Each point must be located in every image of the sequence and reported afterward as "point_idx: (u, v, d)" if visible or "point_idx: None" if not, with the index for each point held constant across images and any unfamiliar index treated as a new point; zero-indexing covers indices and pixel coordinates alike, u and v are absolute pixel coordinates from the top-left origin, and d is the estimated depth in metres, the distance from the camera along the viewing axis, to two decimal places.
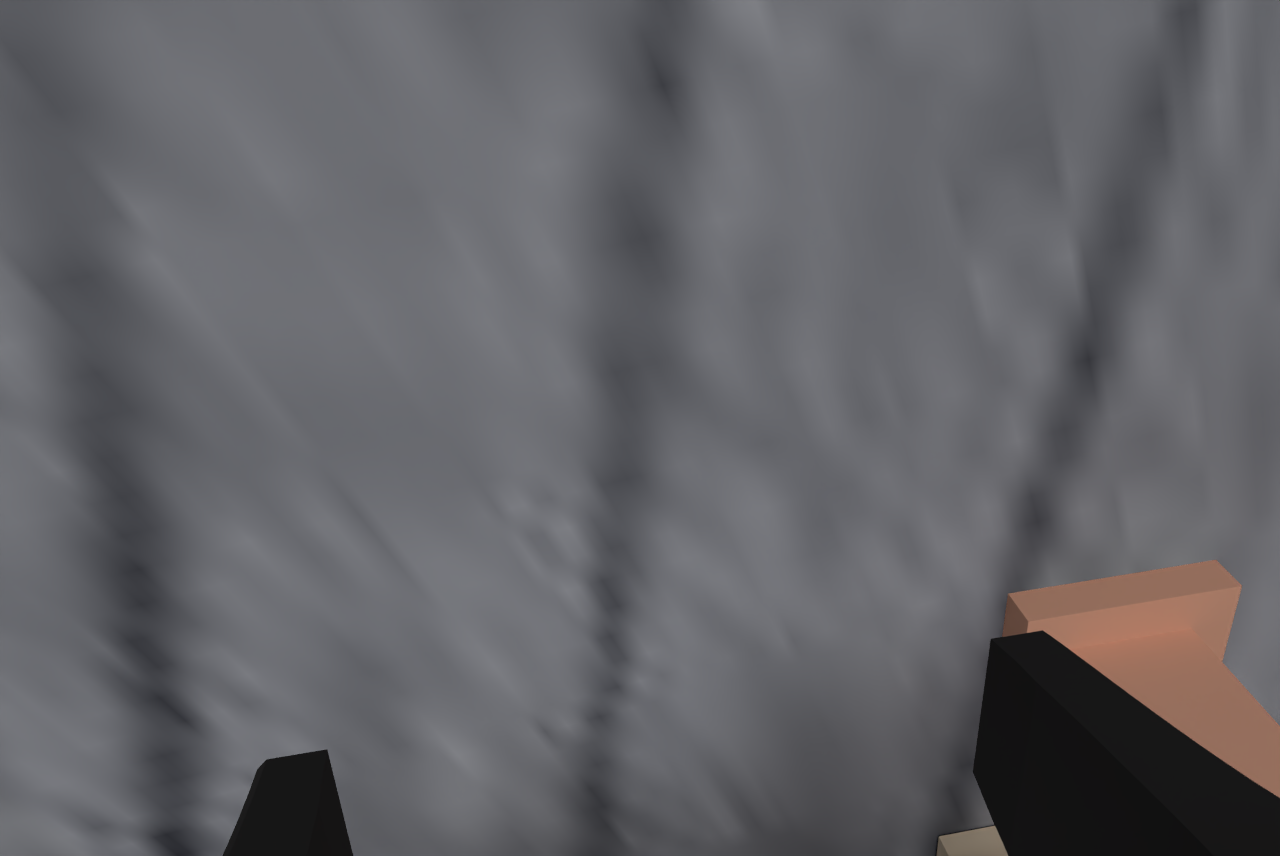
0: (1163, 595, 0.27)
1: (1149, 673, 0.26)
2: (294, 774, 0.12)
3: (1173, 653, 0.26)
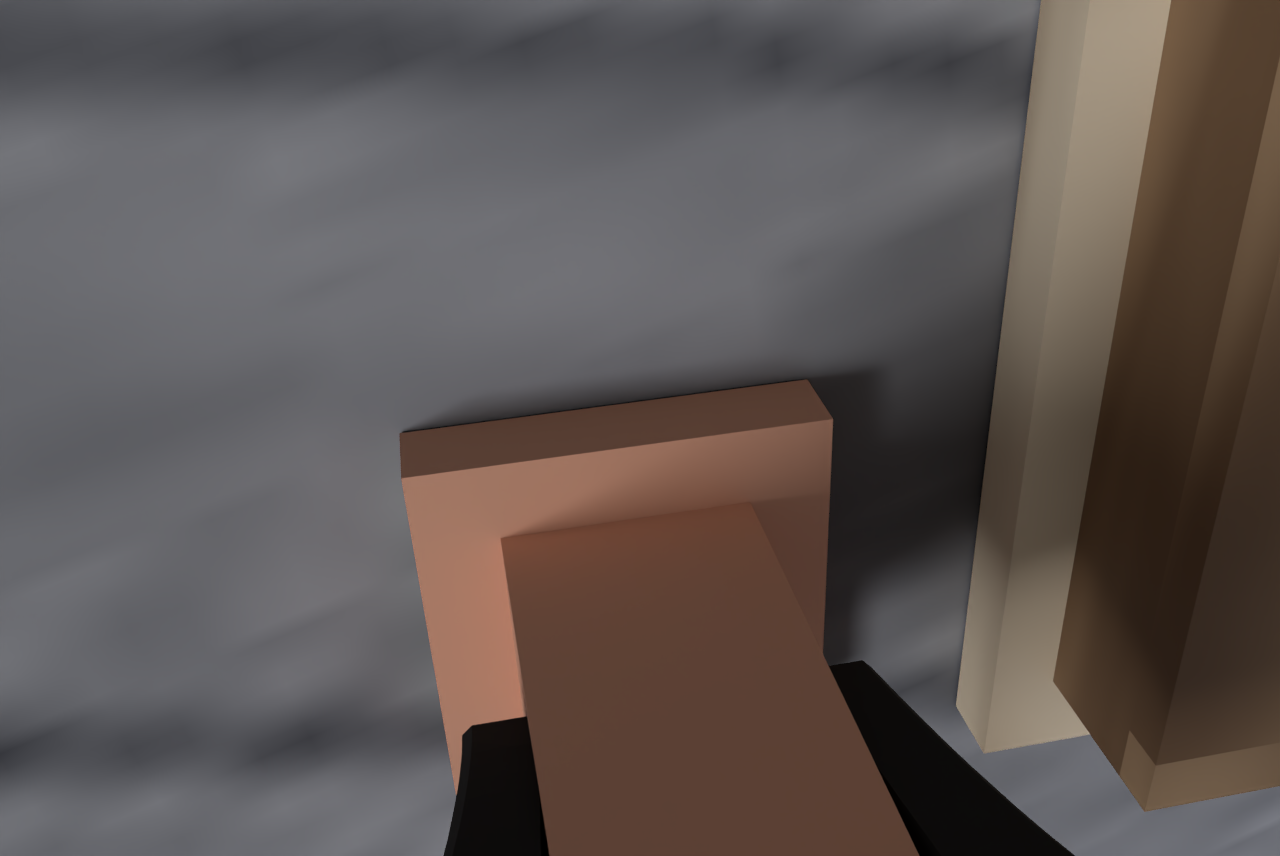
0: (424, 597, 0.15)
1: (523, 709, 0.14)
2: (504, 738, 0.12)
3: (512, 627, 0.14)
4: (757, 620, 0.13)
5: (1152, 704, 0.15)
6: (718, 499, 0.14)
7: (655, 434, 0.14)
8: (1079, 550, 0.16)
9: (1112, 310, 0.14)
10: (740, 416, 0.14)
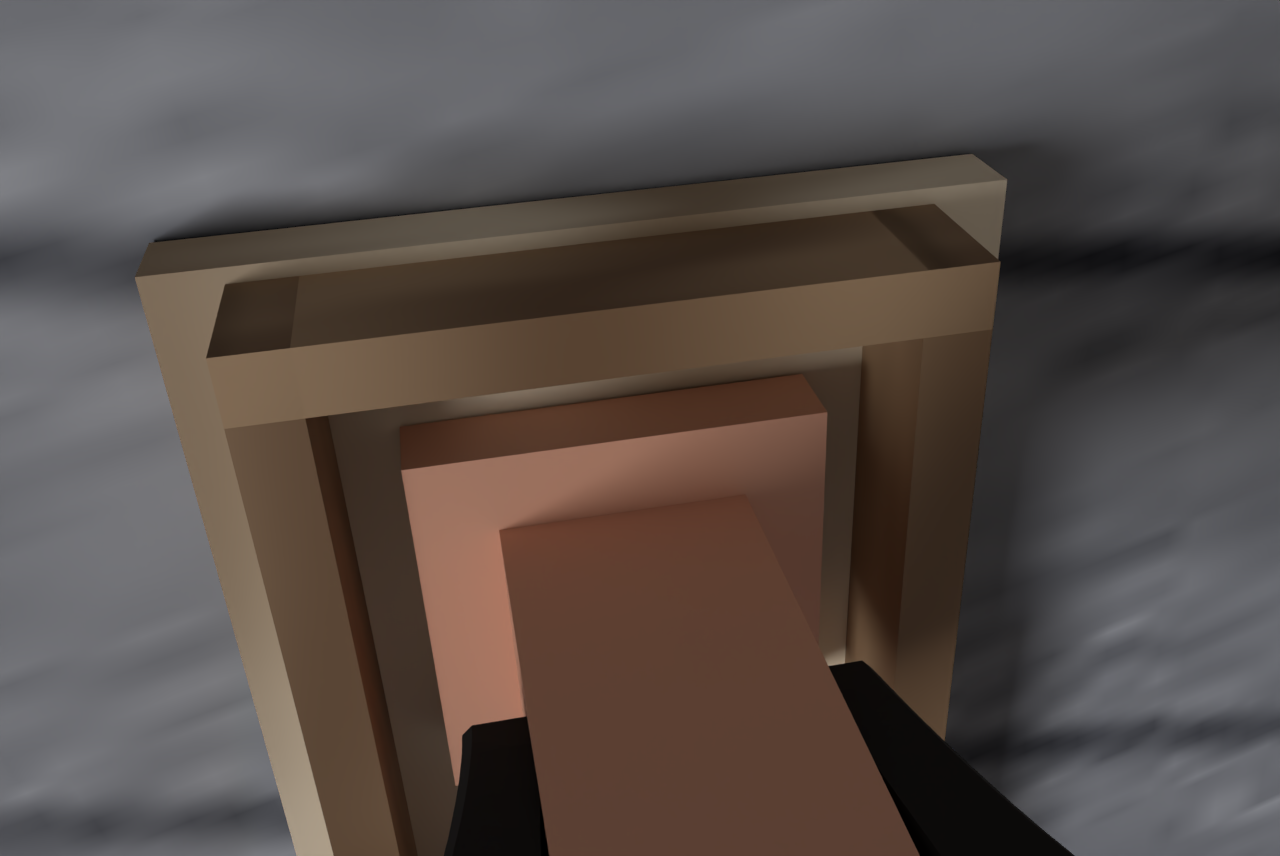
0: (423, 589, 0.15)
1: None
2: (505, 738, 0.12)
3: None
4: (751, 609, 0.13)
5: None
6: (713, 491, 0.15)
7: (651, 428, 0.14)
8: None
9: None
10: (735, 409, 0.15)
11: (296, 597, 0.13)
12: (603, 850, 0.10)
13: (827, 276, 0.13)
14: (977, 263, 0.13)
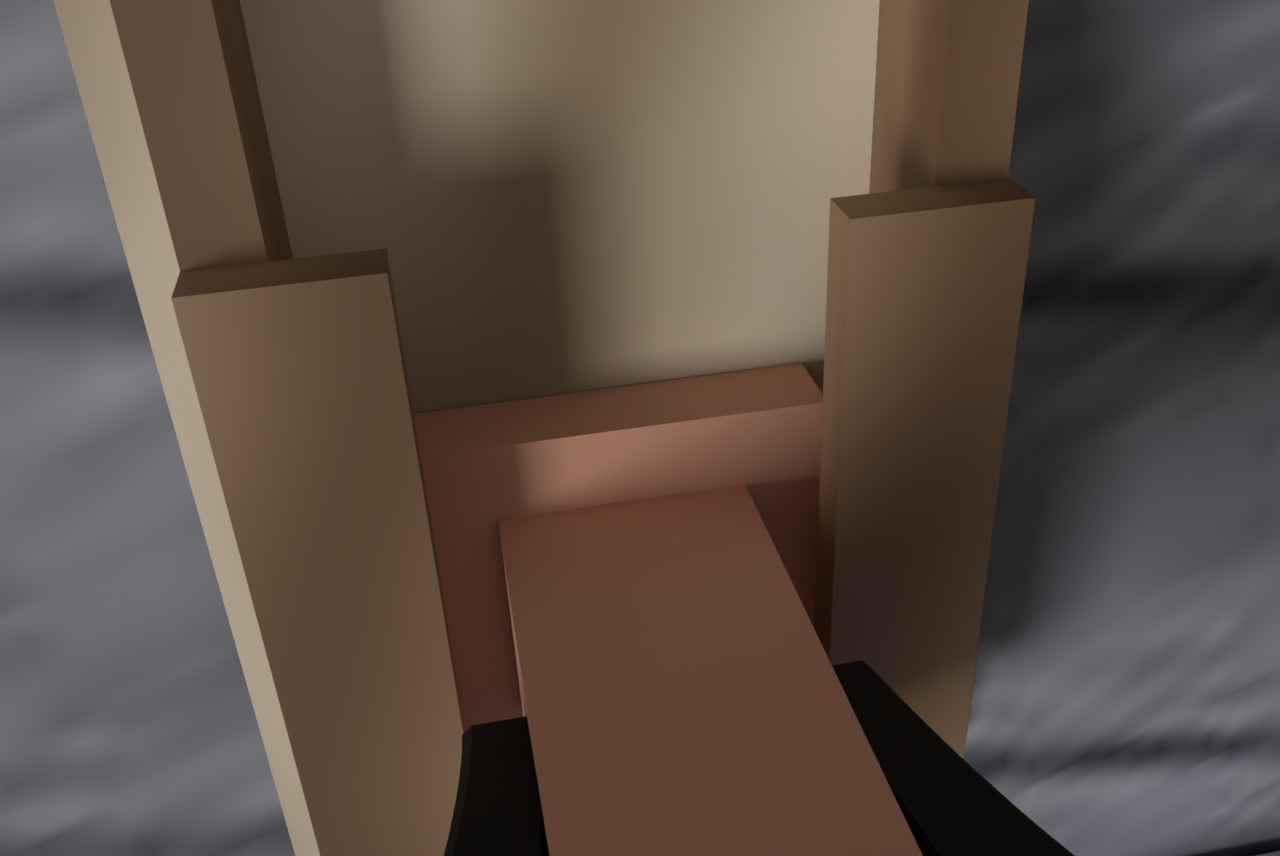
0: None
1: (520, 689, 0.14)
2: (505, 738, 0.12)
3: (509, 608, 0.14)
4: (751, 599, 0.13)
5: None
6: (714, 482, 0.15)
7: (651, 417, 0.14)
8: None
9: None
10: (735, 399, 0.14)
11: None
12: (602, 842, 0.10)
13: None
14: None
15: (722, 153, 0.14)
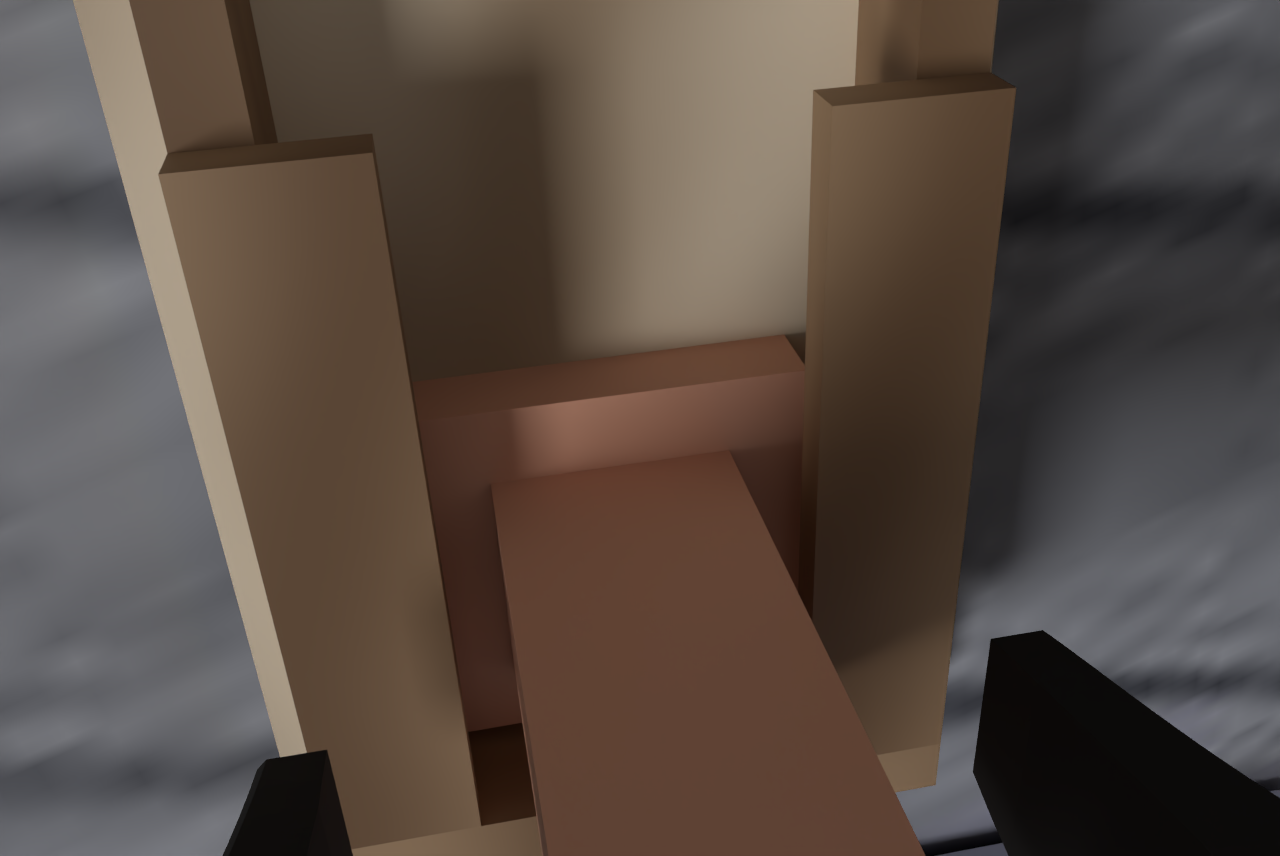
0: None
1: (512, 646, 0.15)
2: (293, 774, 0.12)
3: (502, 568, 0.15)
4: (733, 554, 0.13)
5: None
6: (699, 448, 0.15)
7: (638, 385, 0.15)
8: None
9: None
10: (719, 367, 0.15)
11: None
12: (588, 774, 0.11)
13: None
14: None
15: (708, 56, 0.14)
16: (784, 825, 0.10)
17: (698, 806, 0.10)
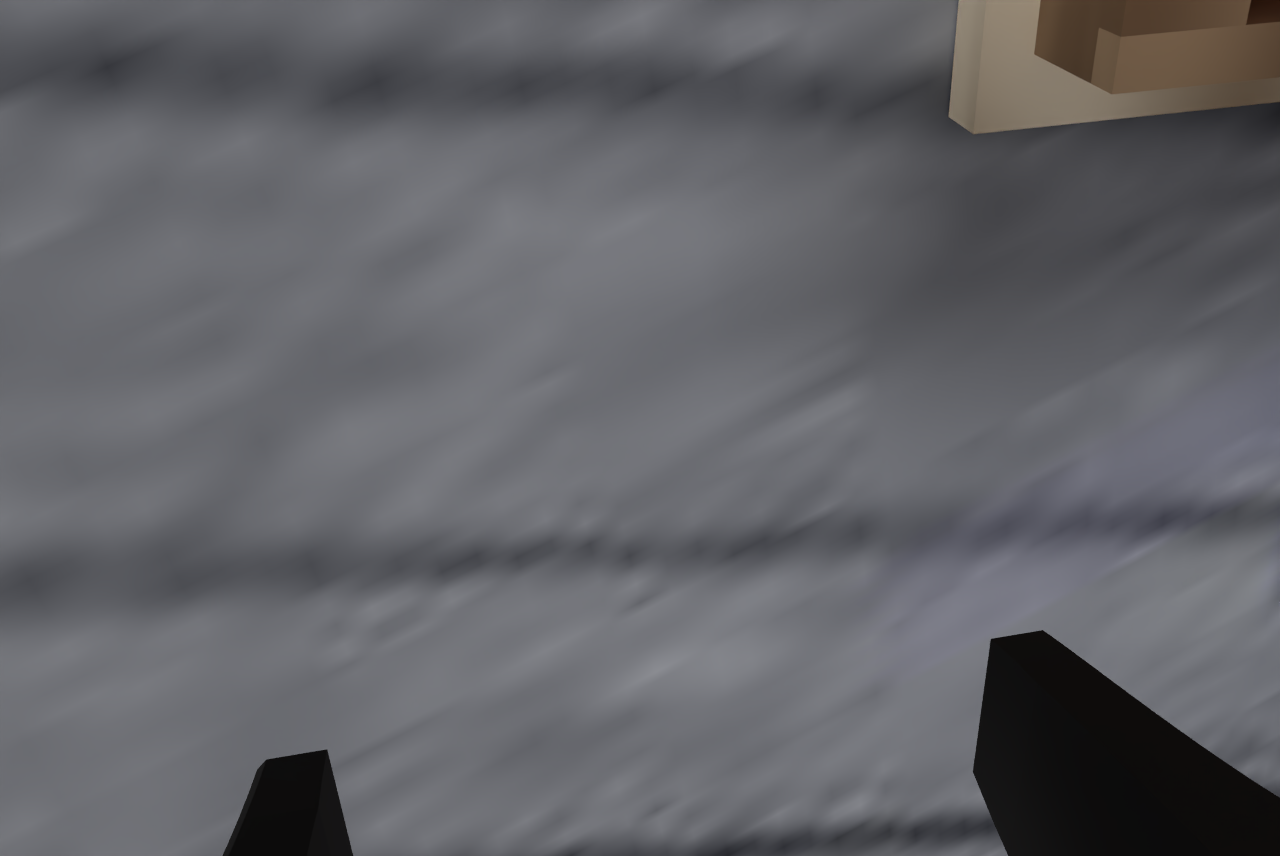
0: None
1: None
2: (294, 774, 0.12)
3: None
4: None
5: None
6: None
7: None
8: None
9: None
10: None
11: None
12: None
13: None
14: None
15: None
16: None
17: None
